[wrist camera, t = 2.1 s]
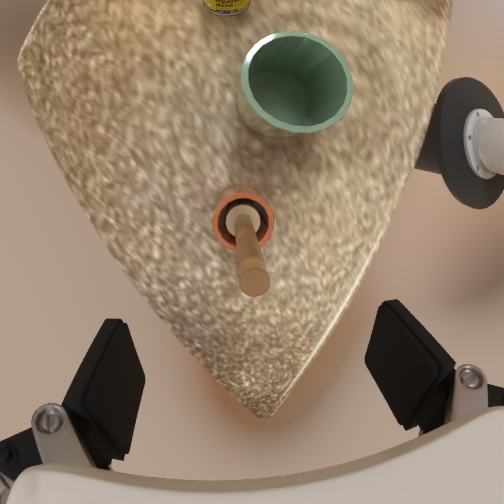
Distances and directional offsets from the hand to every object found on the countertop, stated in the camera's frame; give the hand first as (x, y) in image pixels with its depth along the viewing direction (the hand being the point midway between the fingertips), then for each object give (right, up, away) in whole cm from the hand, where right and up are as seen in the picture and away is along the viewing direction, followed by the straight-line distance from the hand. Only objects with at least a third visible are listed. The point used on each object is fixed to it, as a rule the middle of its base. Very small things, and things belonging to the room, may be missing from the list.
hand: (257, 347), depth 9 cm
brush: (-1, +8, +21) cm, 22 cm away
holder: (-1, +8, +21) cm, 23 cm away
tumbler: (+2, +19, +17) cm, 26 cm away
